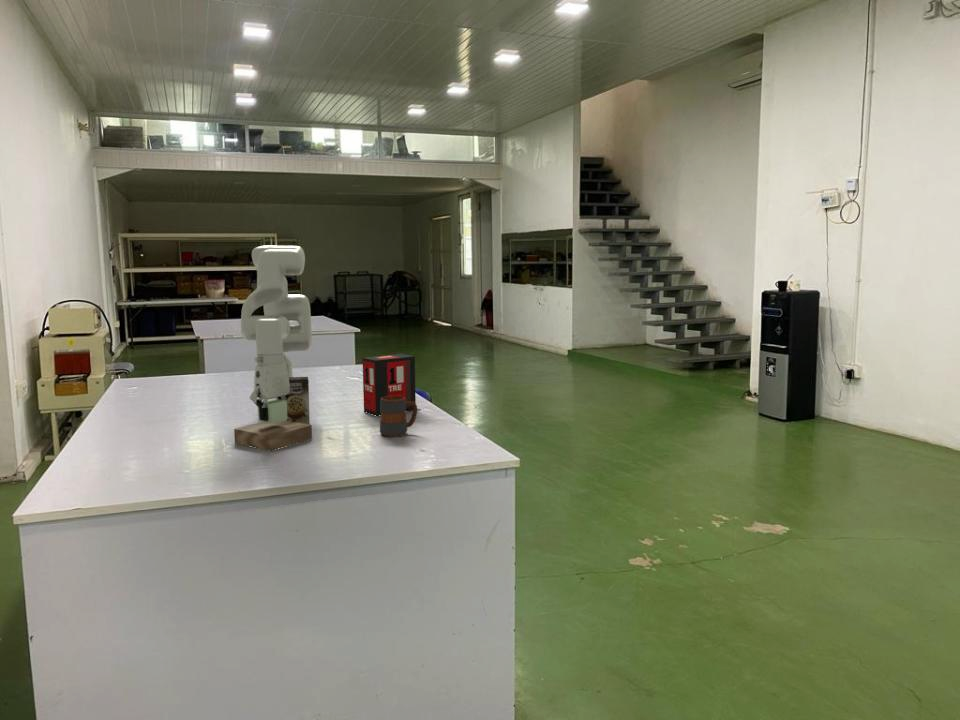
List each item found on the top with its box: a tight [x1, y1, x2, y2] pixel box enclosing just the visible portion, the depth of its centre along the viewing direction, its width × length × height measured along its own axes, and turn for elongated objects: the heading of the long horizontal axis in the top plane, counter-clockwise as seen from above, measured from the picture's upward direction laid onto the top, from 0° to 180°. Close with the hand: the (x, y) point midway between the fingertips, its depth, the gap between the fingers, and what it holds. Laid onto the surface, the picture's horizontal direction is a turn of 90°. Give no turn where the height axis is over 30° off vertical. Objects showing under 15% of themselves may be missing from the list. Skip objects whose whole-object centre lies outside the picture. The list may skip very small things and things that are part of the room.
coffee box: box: [286, 376, 311, 425], centre depth 233 cm, size 9×6×16 cm
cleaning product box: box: [362, 353, 417, 417], centre depth 255 cm, size 16×9×20 cm, turn 129°
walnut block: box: [233, 420, 313, 452], centre depth 214 cm, size 16×16×5 cm
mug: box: [379, 396, 418, 437], centre depth 222 cm, size 9×12×12 cm
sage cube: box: [257, 399, 287, 424], centre depth 213 cm, size 6×6×6 cm
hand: (272, 417), depth 213 cm, fingers closed on sage cube, 6 cm apart
